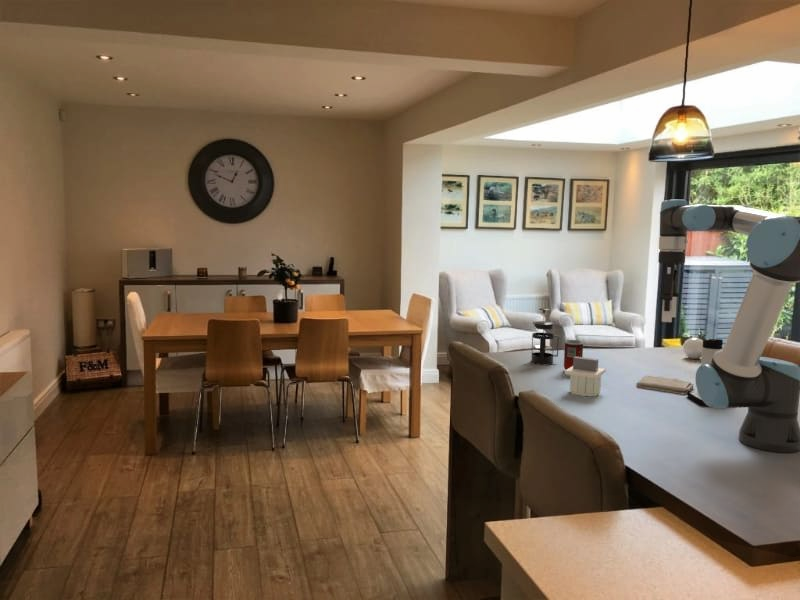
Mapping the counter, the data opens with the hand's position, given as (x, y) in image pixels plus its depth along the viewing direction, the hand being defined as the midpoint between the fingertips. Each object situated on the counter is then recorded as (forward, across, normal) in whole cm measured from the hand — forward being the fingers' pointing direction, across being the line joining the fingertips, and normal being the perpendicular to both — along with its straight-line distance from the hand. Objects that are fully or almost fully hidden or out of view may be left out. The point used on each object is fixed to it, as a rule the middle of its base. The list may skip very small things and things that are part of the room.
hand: (668, 319), depth 199 cm
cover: (+22, +12, +27) cm, 37 cm away
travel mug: (+29, +30, -11) cm, 44 cm away
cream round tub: (+29, +11, +27) cm, 41 cm away
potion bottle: (+28, +94, -6) cm, 98 cm away
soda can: (+28, +42, +38) cm, 63 cm away
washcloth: (+29, +33, +3) cm, 45 cm away
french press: (+28, +52, +53) cm, 79 cm away
